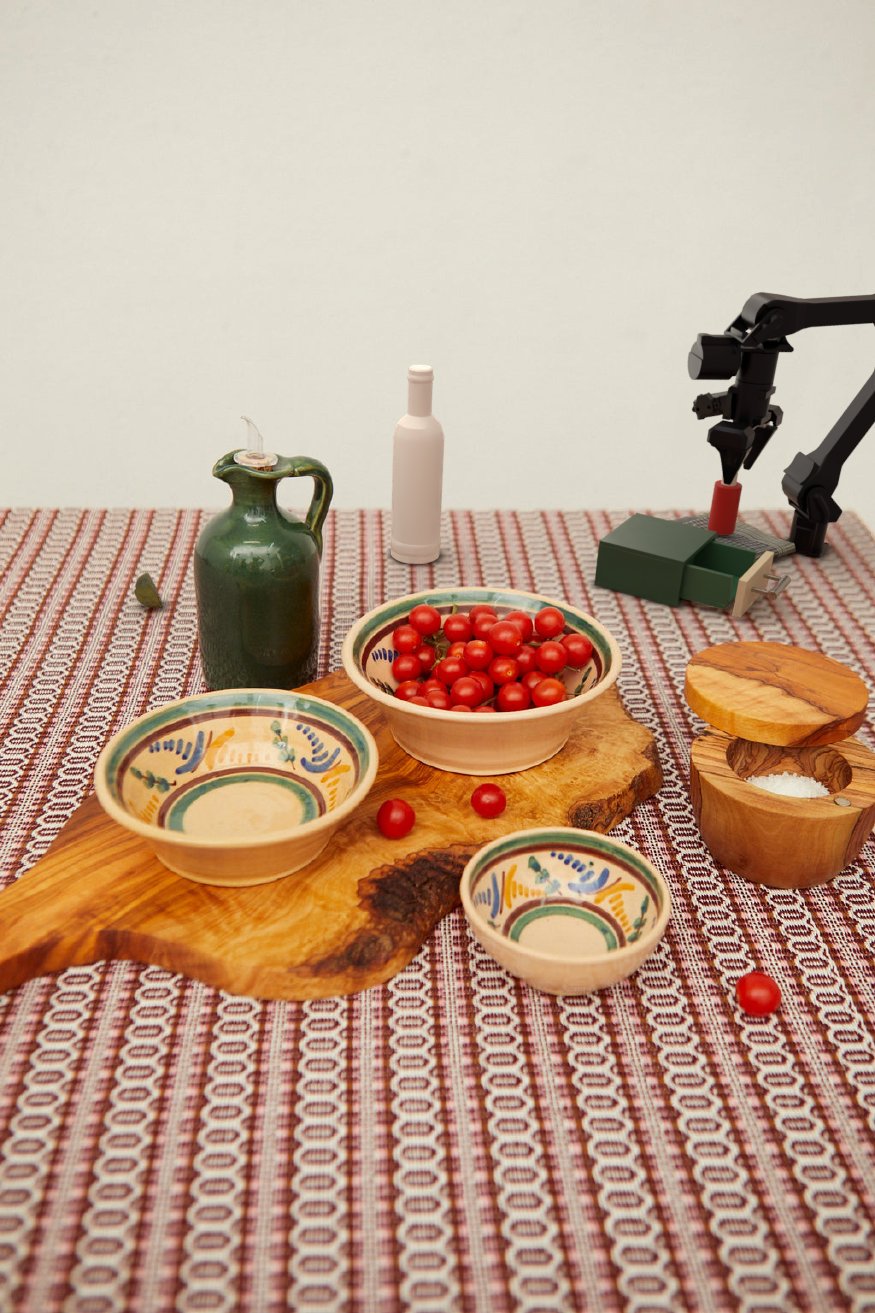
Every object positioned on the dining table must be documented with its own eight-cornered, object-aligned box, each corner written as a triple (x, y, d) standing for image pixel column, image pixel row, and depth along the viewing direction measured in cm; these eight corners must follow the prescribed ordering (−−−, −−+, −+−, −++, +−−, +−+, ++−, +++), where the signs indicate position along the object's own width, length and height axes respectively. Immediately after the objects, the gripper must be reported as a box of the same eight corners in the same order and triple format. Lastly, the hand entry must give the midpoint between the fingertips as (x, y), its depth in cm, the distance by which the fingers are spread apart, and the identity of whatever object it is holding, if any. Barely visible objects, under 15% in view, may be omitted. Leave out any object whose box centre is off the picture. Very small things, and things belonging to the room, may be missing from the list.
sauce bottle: (712, 522, 185) (721, 466, 180) (738, 528, 183) (748, 471, 178) (703, 530, 182) (712, 473, 177) (729, 536, 180) (739, 478, 175)
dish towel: (798, 554, 181) (802, 536, 180) (723, 576, 172) (726, 558, 171) (716, 518, 195) (718, 501, 193) (641, 537, 186) (644, 519, 184)
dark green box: (709, 575, 173) (717, 531, 169) (676, 607, 162) (684, 561, 158) (630, 555, 179) (636, 512, 175) (594, 585, 168) (599, 540, 164)
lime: (152, 596, 158) (149, 564, 156) (175, 606, 156) (172, 573, 154) (128, 607, 155) (124, 574, 153) (151, 616, 153) (148, 584, 150)
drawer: (792, 593, 166) (800, 558, 163) (766, 625, 156) (774, 588, 153) (690, 567, 173) (695, 533, 170) (659, 595, 163) (664, 560, 160)
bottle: (379, 554, 175) (382, 366, 161) (412, 541, 180) (418, 357, 166) (417, 569, 170) (423, 376, 156) (449, 555, 176) (458, 367, 161)
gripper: (725, 360, 179) (710, 452, 187) (682, 382, 165) (667, 480, 173) (792, 371, 174) (774, 466, 182) (754, 395, 160) (735, 496, 168)
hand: (737, 476), depth 176 cm, fingers open, 9 cm apart
